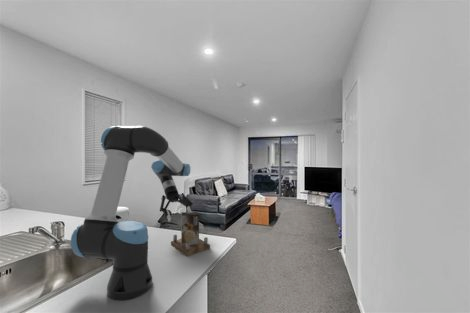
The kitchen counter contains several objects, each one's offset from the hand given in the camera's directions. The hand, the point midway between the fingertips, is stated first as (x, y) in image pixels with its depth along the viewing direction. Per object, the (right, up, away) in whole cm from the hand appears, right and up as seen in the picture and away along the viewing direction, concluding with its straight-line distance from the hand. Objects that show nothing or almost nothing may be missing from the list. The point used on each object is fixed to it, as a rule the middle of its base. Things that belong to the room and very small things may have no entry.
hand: (181, 218), depth 126 cm
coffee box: (+7, -11, -8) cm, 15 cm away
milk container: (-37, -12, -3) cm, 39 cm away
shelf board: (+7, -13, -8) cm, 17 cm away
